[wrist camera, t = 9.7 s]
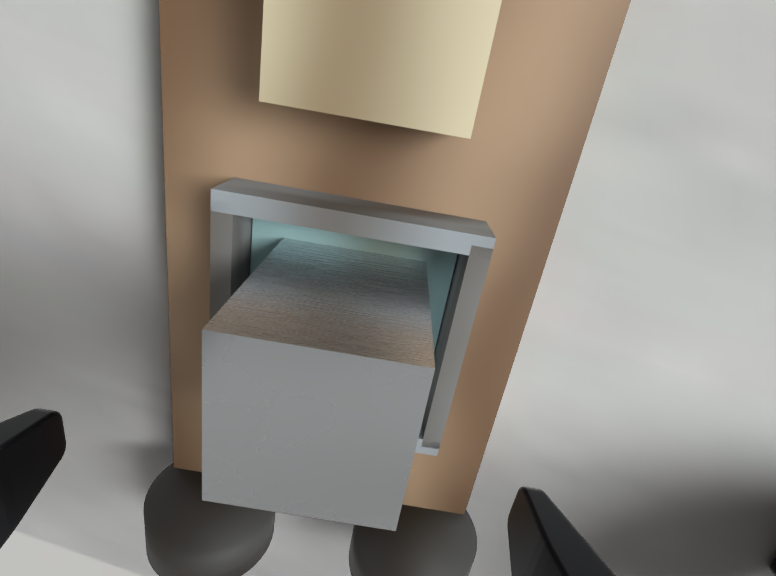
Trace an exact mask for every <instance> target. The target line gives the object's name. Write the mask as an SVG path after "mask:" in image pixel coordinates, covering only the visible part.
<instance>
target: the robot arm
mask: <svg viewBox="0 0 776 576" xmlns="http://www.w3.org/2000/svg"><path fill="white" fill-rule="evenodd" d="M65 449H66V440H65V433H64V427H63V420H62V416H61V415H60V413H59V412H57V411H52V410H45V409H33V410H30V411H28V412H25V413H23V414H21V415H18V416H16V417H13V418H11V419H8V420H6V421H3V422H1V423H0V548H1V547H2V546H3V544H4V543H5V542H6V540H7V539H8V538H9V536H10V535H11V534H12V532H13V531H14V530H15V528H16V527H17V525H18V524H19V522H20V521H21V519H22V518H23V516H24V515H25V513H26V512H27V510H28V509H29V507H30V506H31V504H32V503H33V501H34V500H35V498H36V497H37V495H38V493H39V492H40V490H41V489H42V487H43V486H44V484H45V483H46V481H47V480H48V478H49V477H50V475H51V474H52V472H53V471H54V469H55V468H56V466H57V464H58V463H59V461H60V460H61V458H62V457H63V454H64V452H65ZM508 537H509V549H510V560H511V571H512V576H616V575H615V574H614V573H613V572H612V571H611V570H610V568H609V567H608V566H607V565H606V564H605V563H604V561H603V560H602V559H601V558H600V557H599V556H598V554H597V553H596V552H595V551H594V550H593V549H592V547H591V546H590V545H589V544H588V543H587V542H586V540H585V539H584V538H583V537H582V536H581V535H580V533H579V532H578V531H577V530H576V529H575V527H574V526H573V525H572V524H571V523H570V522H569V520H568V519H567V518H566V517H565V516H564V515H563V513H562V512H561V511H560V510H559V509H558V508H557V506H556V505H555V504H554V503H553V502H552V501H551V499H550V498H549V497H548V496H547V495H546V494H545V493H544V492H543V491H542V490H540V489H536V488H530V487H521V488H520V489H519V490H518V492H517V495H516V498H515V500H514V503H513V506H512V508H511V511H510V514H509V517H508ZM770 570H771V571H772V573H773V574H774V575H775V576H776V558H775V559H774V560H773V562H772V563H771V565H770Z"/></svg>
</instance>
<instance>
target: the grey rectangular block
mask: <svg viewBox="0 0 776 576" xmlns="http://www.w3.org/2000/svg"><path fill="white" fill-rule="evenodd" d="M434 372H435V359H434V348H433V336H432V324H431V312H430V301H429V289H428V277H427V266H426V262H423V261H417V260H412V259H406V258H400V257H394V256H388V255H382V254H376V253H371V252H365V251H359V250H353V249H347V248H341V247H336V246H330V245H324V244H318V243H312V242H306V241H301V240H295V239H289V238H283V239H282V240H281V241H280V243H279V244H278V245H277V246H276V247H275V248H274V249H273V250H272V252H271V253H270V254H269V255H268V256H267V257H266V258H265V259H264V260H263V262H262V263H261V264H260V265H259V266H258V267H257V268H256V269H255V271H254V272H253V273H252V274H251V275H250V276H249V277H248V278H247V280H246V281H245V282H244V283H243V284H242V285H241V286H240V287H239V288H238V290H237V291H236V292H235V293H234V294H233V295H232V296H231V297H230V299H229V300H228V301H227V302H226V303H225V304H224V305H223V306H222V308H221V309H220V310H219V311H218V312H217V313H216V314H215V315H214V316H213V318H212V319H211V320H210V321H209V322H208V323H207V324H206V325H205V327H204V328H203V329H202V500H203V501H210V502H216V503H222V504H228V505H235V506H241V507H247V508H254V509H260V510H266V511H272V512H279V513H285V514H291V515H298V516H304V517H310V518H316V519H323V520H329V521H335V522H341V523H348V524H354V525H360V526H367V527H373V528H379V529H385V530H392V531H396V528H397V524H398V520H399V516H400V512H401V508H402V503H403V499H404V495H405V491H406V487H407V483H408V479H409V475H410V471H411V466H412V462H413V458H414V454H415V450H416V446H417V442H418V438H419V433H420V429H421V425H422V421H423V417H424V413H425V409H426V405H427V401H428V396H429V392H430V388H431V384H432V380H433V376H434Z"/></svg>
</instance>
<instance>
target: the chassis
mask: <svg viewBox="0 0 776 576" xmlns="http://www.w3.org/2000/svg"><path fill="white" fill-rule="evenodd" d="M630 1H631V0H159V23H160V54H161V86H162V117H163V148H164V179H165V211H166V242H167V273H168V304H169V336H170V367H171V398H172V429H173V461H174V463H173V464H171V465H170V466H168V467H167V468H166V469H165V470H164V471H163V472H162V473H161V474H160V475H159V476H158V477H157V478H156V479H155V481H154V482H153V483H152V485H151V487H150V488H149V490H148V492H147V495H146V498H145V502H144V523H145V537H146V550H147V556H148V560H149V562H150V564H151V566H152V568H153V569H154V571H155V572H156V573H157V574H158V575H159V576H242V575H243V574H244V573H246V572H247V571H249V570H250V569H251V568H252V567H253V566H254V565H255V564H256V563H257V562H258V561H259V560H260V559H261V557H262V556H263V555H264V553H265V552H266V550H267V548H268V546H269V544H270V542H271V539H272V535H273V531H274V520H275V512H272V511H266V510H260V509H254V508H247V507H241V506H235V505H228V504H222V503H216V502H210V501H203V500H202V329H203V328H204V327H205V325H206V324H207V323H208V322H209V321H210V320H211V319H212V318H213V316H214V315H215V314H216V313H217V312H218V311H219V310H220V309H221V308H222V306H223V305H224V304H225V303H226V302H227V301H228V300H229V299H230V297H231V296H232V295H233V294H234V293H235V292H236V291H237V290H238V288H239V287H240V286H241V285H242V284H243V283H244V282H245V281H246V280H247V278H248V277H249V276H250V275H251V274H252V273H253V272H254V271H255V269H256V268H257V267H258V266H259V265H260V264H261V263H262V262H263V260H264V259H265V258H266V257H267V256H268V255H269V254H270V253H271V252H272V250H273V249H274V248H275V247H276V246H277V245H278V244H279V243H280V241H281V240H282V239H283V238H289V239H295V240H301V241H306V242H312V243H318V244H324V245H330V246H336V247H341V248H347V249H353V250H359V251H365V252H371V253H376V254H382V255H388V256H394V257H400V258H406V259H412V260H417V261H423V262H426V266H427V277H428V289H429V301H430V312H431V324H432V336H433V348H434V359H435V372H434V376H433V380H432V384H431V388H430V392H429V396H428V401H427V405H426V409H425V413H424V417H423V421H422V425H421V429H420V433H419V438H418V442H417V446H416V450H415V454H414V458H413V462H412V466H411V471H410V475H409V479H408V483H407V487H406V491H405V495H404V499H403V503H402V508H401V512H400V516H399V520H398V524H397V528H396V531H392V530H385V529H379V528H373V527H367V526H360V525H354V529H353V534H352V540H351V545H350V550H349V566H350V571H351V575H352V576H468V575H469V572H470V569H471V566H472V563H473V561H474V558H475V554H476V550H477V536H476V531H475V527H474V524H473V522H472V520H471V518H470V516H469V514H468V512H467V511H466V507H467V504H468V501H469V498H470V495H471V492H472V488H473V485H474V482H475V479H476V476H477V473H478V470H479V467H480V464H481V461H482V458H483V455H484V451H485V448H486V445H487V442H488V439H489V436H490V433H491V430H492V427H493V424H494V421H495V418H496V414H497V411H498V408H499V405H500V402H501V399H502V396H503V393H504V390H505V387H506V384H507V381H508V377H509V374H510V371H511V368H512V365H513V362H514V359H515V356H516V353H517V350H518V347H519V344H520V340H521V337H522V334H523V331H524V328H525V325H526V322H527V319H528V316H529V313H530V310H531V307H532V303H533V300H534V297H535V294H536V291H537V288H538V285H539V282H540V279H541V276H542V273H543V270H544V266H545V263H546V260H547V257H548V254H549V251H550V248H551V245H552V242H553V239H554V236H555V233H556V229H557V226H558V223H559V220H560V217H561V214H562V211H563V208H564V205H565V202H566V199H567V196H568V192H569V189H570V186H571V183H572V180H573V177H574V174H575V171H576V168H577V165H578V162H579V159H580V155H581V152H582V149H583V146H584V143H585V140H586V137H587V134H588V131H589V128H590V125H591V122H592V118H593V115H594V112H595V109H596V106H597V103H598V100H599V97H600V94H601V91H602V88H603V85H604V81H605V78H606V75H607V72H608V69H609V66H610V63H611V60H612V57H613V54H614V51H615V48H616V44H617V41H618V38H619V35H620V32H621V29H622V26H623V23H624V20H625V17H626V14H627V11H628V7H629V4H630Z"/></svg>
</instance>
